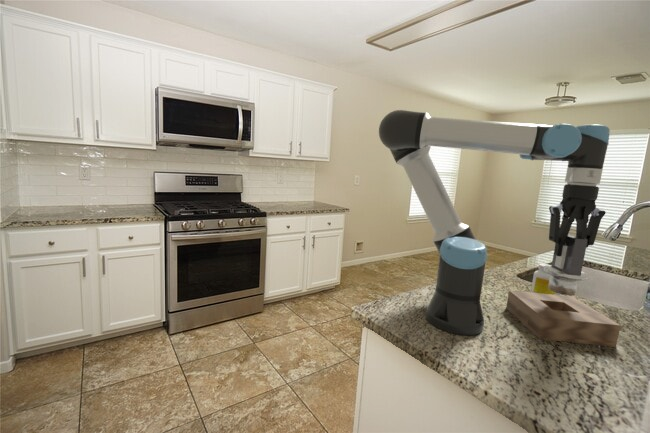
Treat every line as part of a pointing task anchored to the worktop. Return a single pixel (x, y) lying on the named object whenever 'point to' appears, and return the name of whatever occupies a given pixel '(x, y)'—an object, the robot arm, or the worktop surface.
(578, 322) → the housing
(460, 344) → the worktop surface
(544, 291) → the supplement bottle
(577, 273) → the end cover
